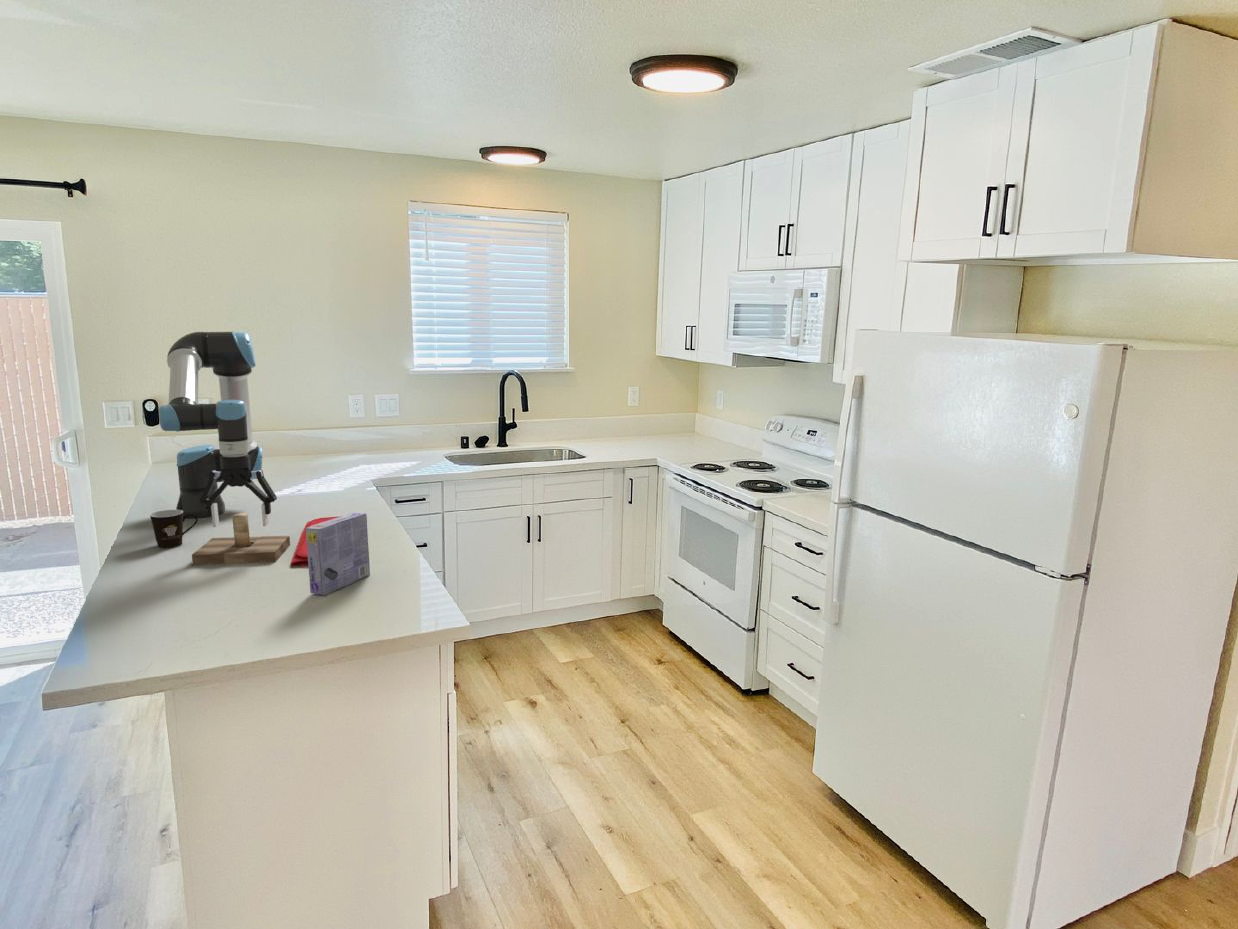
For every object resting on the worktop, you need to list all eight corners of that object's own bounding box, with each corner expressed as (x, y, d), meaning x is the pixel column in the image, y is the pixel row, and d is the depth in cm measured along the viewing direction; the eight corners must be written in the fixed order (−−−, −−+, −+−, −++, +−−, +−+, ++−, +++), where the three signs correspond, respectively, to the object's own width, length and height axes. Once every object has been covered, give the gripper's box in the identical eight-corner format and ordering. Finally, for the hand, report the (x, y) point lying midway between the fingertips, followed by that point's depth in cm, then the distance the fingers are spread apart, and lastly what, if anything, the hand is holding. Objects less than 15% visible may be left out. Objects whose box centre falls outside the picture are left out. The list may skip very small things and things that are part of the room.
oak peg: (238, 552, 222) (234, 513, 219) (253, 552, 222) (249, 513, 220) (233, 557, 218) (229, 517, 215) (248, 556, 218) (245, 517, 216)
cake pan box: (359, 571, 208) (356, 509, 205) (374, 573, 206) (371, 511, 203) (308, 594, 191) (303, 527, 187) (323, 597, 189) (319, 530, 185)
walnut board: (213, 547, 226) (212, 538, 225) (290, 545, 230) (289, 535, 229) (192, 565, 211) (191, 554, 210) (275, 562, 214) (274, 552, 214)
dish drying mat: (289, 569, 210) (288, 556, 209) (305, 528, 249) (304, 517, 248) (349, 564, 215) (348, 552, 214) (355, 525, 253) (355, 514, 252)
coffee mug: (149, 550, 222) (145, 518, 220) (158, 541, 230) (155, 510, 228) (193, 547, 225) (189, 515, 223) (200, 539, 234) (197, 508, 232)
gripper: (182, 457, 208) (190, 530, 213) (277, 456, 213) (282, 528, 217) (192, 452, 216) (199, 522, 220) (284, 451, 220) (289, 520, 224)
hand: (241, 525), depth 219 cm, fingers open, 13 cm apart
